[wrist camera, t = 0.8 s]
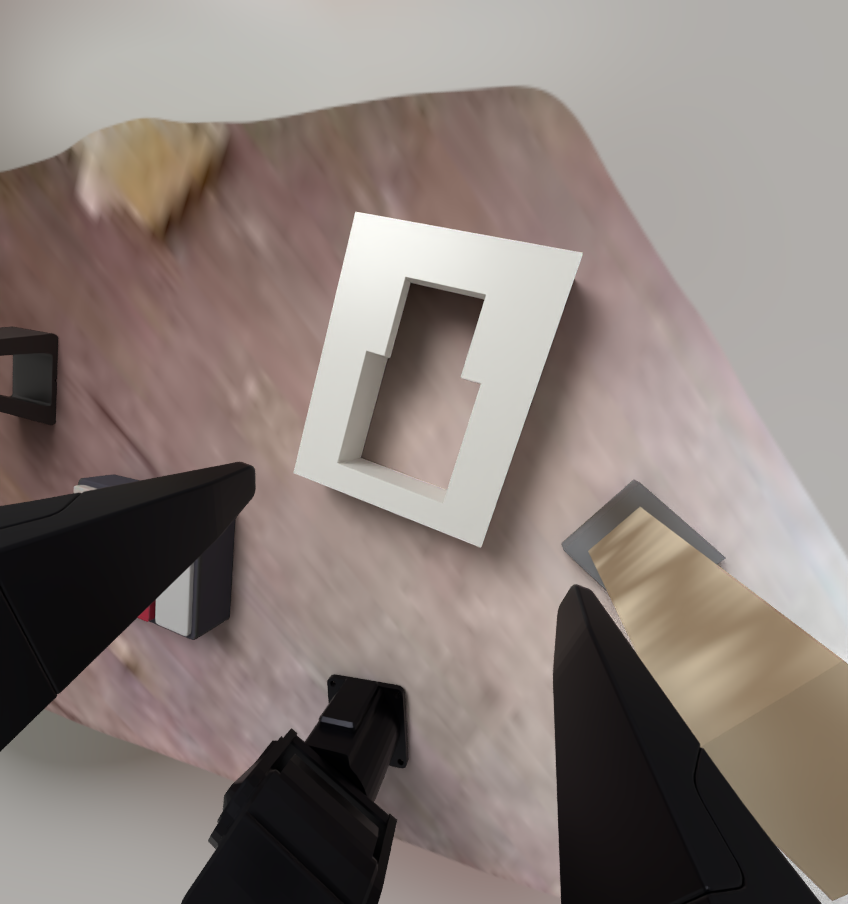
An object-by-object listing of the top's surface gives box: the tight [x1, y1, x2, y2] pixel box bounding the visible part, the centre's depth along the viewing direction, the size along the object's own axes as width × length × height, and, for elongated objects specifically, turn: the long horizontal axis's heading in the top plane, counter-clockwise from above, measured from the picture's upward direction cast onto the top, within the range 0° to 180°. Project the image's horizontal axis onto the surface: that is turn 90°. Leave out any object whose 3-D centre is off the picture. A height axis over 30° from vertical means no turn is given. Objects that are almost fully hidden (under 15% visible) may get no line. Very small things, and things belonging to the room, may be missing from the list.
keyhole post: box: [562, 480, 848, 901], centre depth 15 cm, size 6×6×15 cm
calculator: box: [74, 475, 235, 640], centre depth 32 cm, size 11×4×15 cm
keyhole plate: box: [294, 212, 583, 548], centre depth 23 cm, size 17×14×4 cm
